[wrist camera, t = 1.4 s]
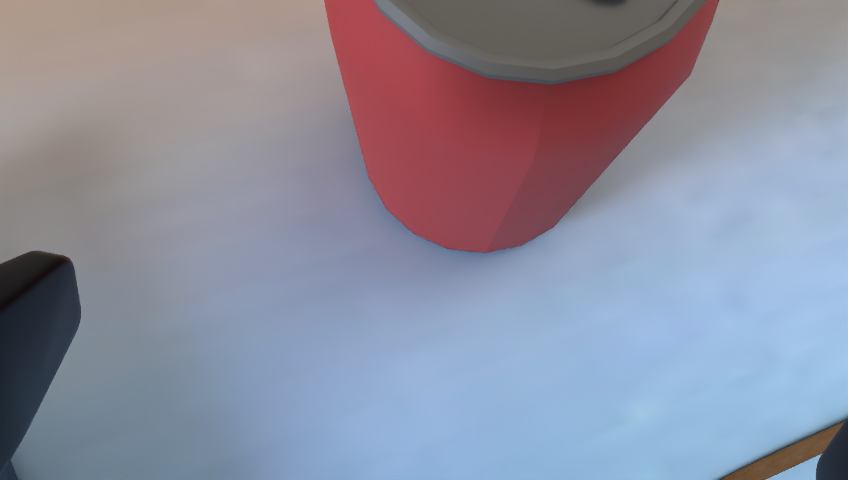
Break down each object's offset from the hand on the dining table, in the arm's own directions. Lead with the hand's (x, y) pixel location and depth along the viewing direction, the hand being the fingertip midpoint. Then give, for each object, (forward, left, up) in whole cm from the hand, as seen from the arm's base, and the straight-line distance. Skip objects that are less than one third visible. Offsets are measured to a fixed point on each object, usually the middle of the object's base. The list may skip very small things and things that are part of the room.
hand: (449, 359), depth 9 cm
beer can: (+5, -4, -13) cm, 14 cm away
